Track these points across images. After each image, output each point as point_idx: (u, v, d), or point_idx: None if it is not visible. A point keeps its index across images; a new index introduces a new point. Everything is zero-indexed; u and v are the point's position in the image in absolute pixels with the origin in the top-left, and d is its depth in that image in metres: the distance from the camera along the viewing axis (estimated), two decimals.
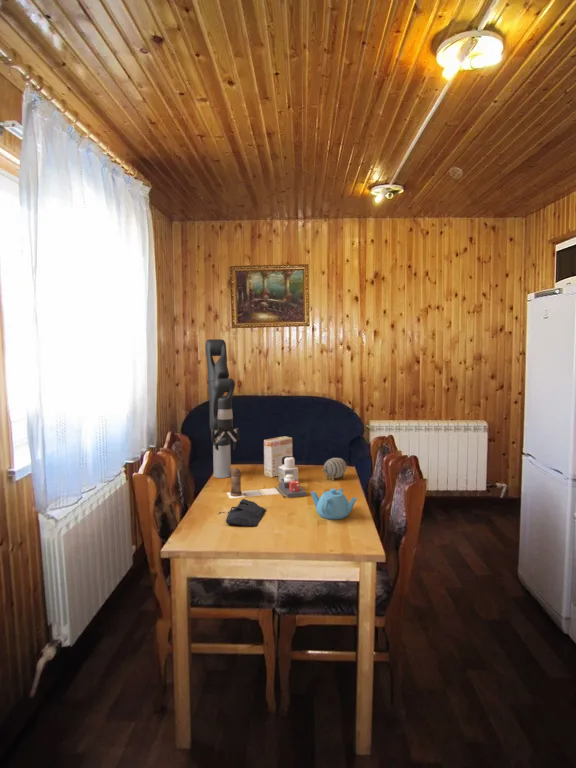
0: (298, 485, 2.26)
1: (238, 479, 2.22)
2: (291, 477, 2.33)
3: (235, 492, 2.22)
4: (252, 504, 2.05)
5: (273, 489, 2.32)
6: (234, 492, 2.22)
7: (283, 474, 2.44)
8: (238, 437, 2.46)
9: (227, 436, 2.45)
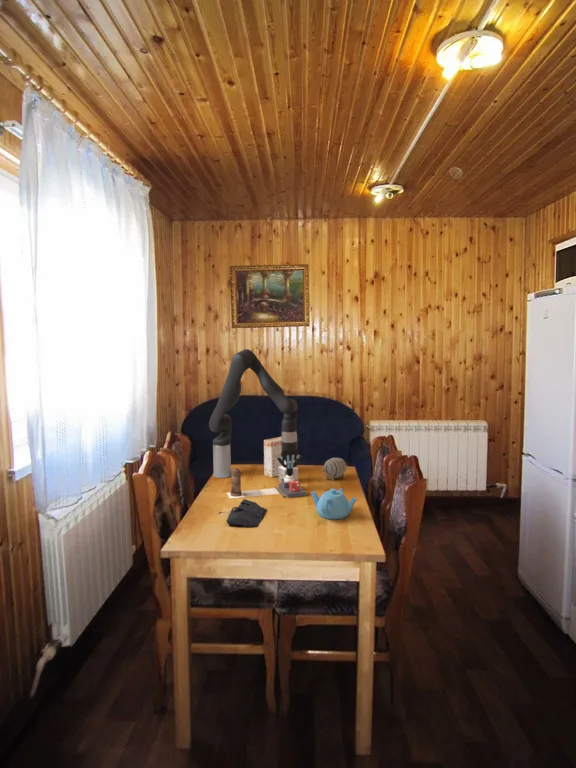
0: (298, 485, 2.26)
1: (238, 479, 2.22)
2: (291, 477, 2.33)
3: (235, 492, 2.22)
4: (253, 505, 2.05)
5: (273, 489, 2.32)
6: (234, 492, 2.22)
7: (283, 474, 2.44)
8: (296, 464, 2.34)
9: (289, 458, 2.33)
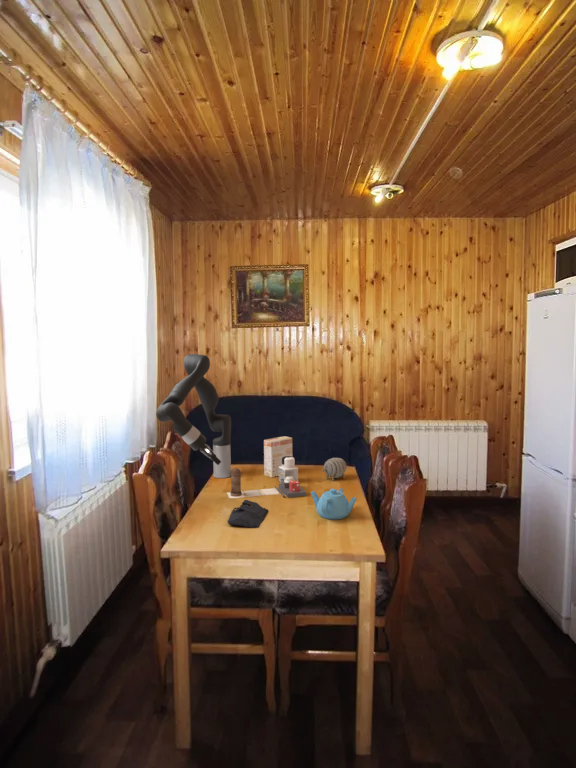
0: (298, 485, 2.26)
1: (238, 479, 2.22)
2: (291, 479, 2.33)
3: (235, 492, 2.22)
4: (254, 505, 2.04)
5: (273, 489, 2.32)
6: (234, 492, 2.22)
7: (283, 474, 2.44)
8: (210, 458, 2.15)
9: None
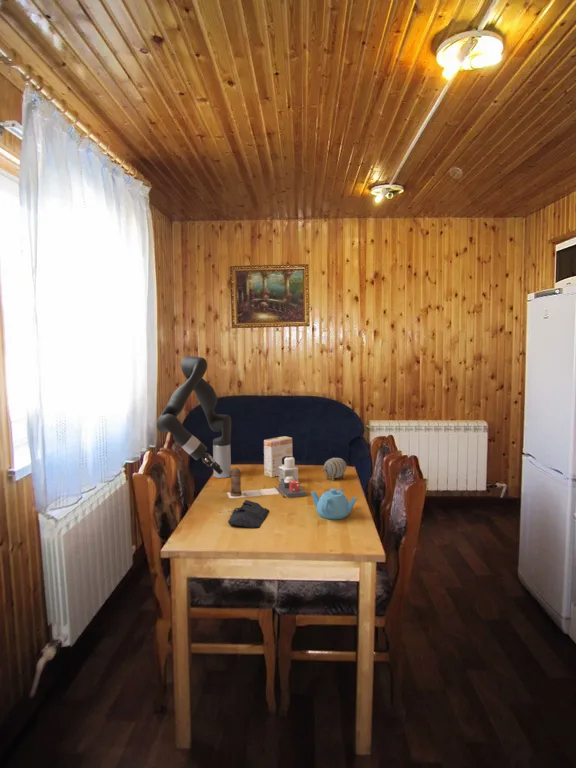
0: (298, 485, 2.26)
1: (238, 479, 2.22)
2: (291, 479, 2.33)
3: (235, 492, 2.22)
4: (255, 506, 2.04)
5: (273, 489, 2.32)
6: (234, 492, 2.22)
7: (283, 474, 2.44)
8: (210, 467, 2.13)
9: None
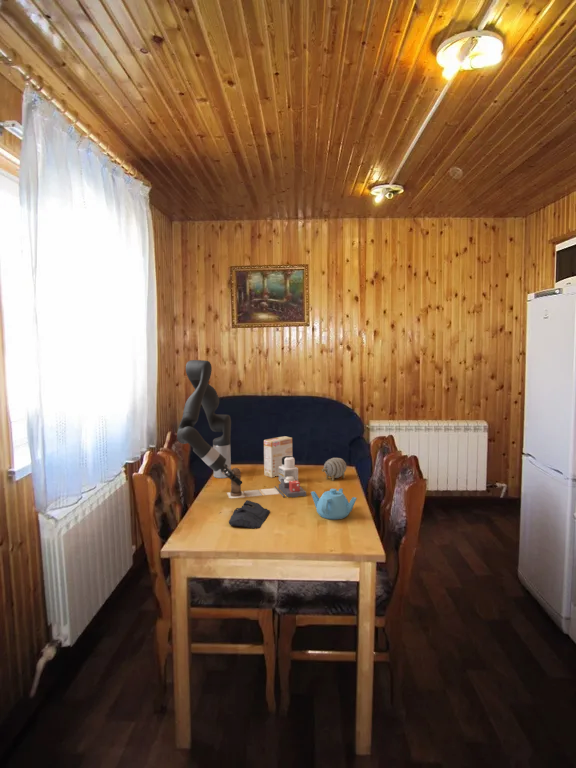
0: (298, 485, 2.26)
1: None
2: (291, 479, 2.33)
3: (235, 492, 2.22)
4: (256, 506, 2.03)
5: (273, 489, 2.32)
6: (234, 492, 2.22)
7: (283, 474, 2.44)
8: None
9: None
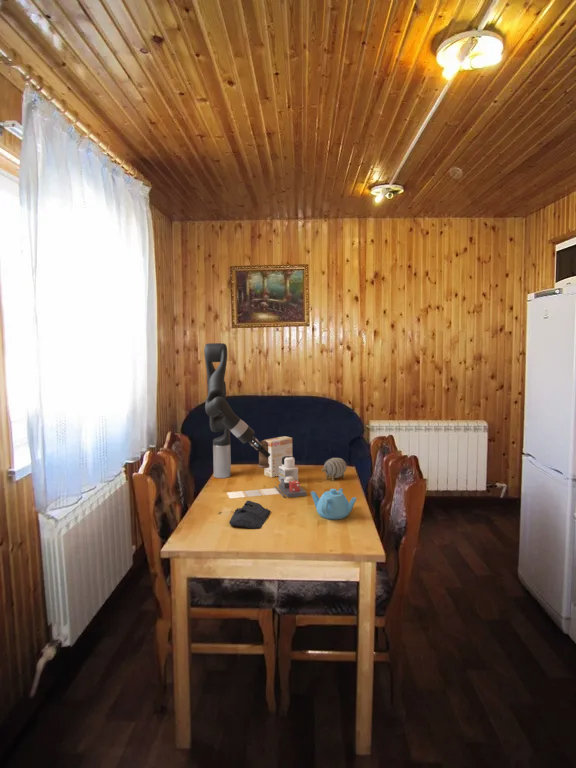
0: (298, 485, 2.26)
1: None
2: (291, 479, 2.33)
3: (263, 464, 2.24)
4: (257, 506, 2.03)
5: (273, 489, 2.32)
6: (262, 464, 2.24)
7: (283, 474, 2.44)
8: (259, 450, 2.20)
9: None
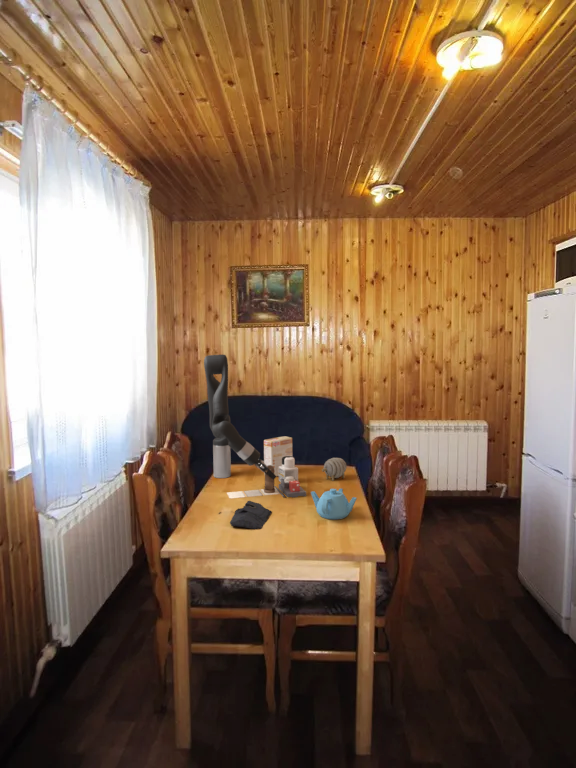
0: (298, 485, 2.26)
1: None
2: (291, 479, 2.33)
3: (269, 489, 2.26)
4: (257, 506, 2.03)
5: None
6: (268, 489, 2.26)
7: (283, 474, 2.44)
8: None
9: None
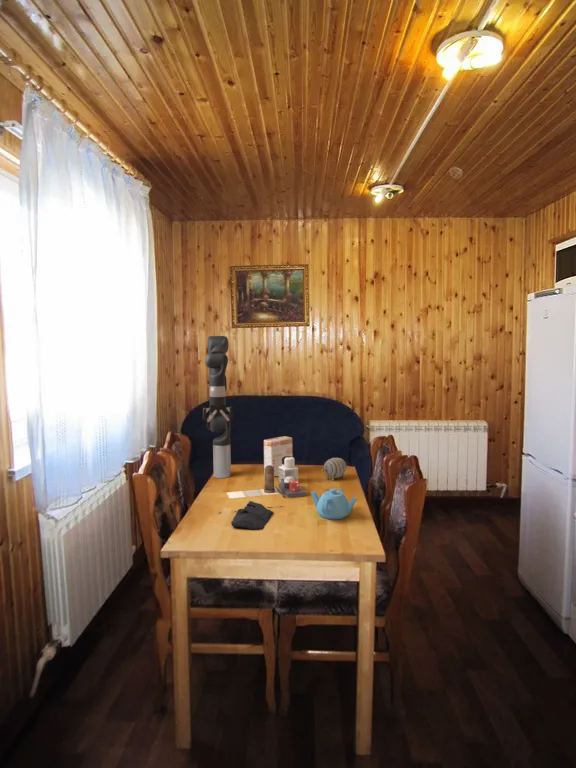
0: (298, 485, 2.26)
1: (272, 476, 2.26)
2: (291, 479, 2.33)
3: (269, 489, 2.26)
4: (259, 507, 2.02)
5: None
6: (268, 489, 2.26)
7: (283, 474, 2.44)
8: (231, 416, 2.33)
9: (219, 415, 2.31)
